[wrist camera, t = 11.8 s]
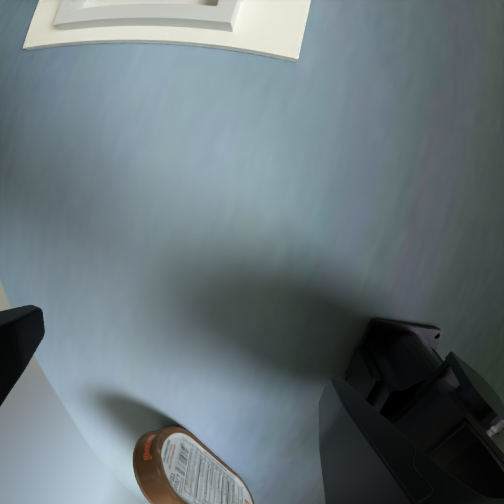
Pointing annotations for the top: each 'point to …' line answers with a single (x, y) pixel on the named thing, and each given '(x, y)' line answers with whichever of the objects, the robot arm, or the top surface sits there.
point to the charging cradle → (174, 24)
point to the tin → (184, 471)
